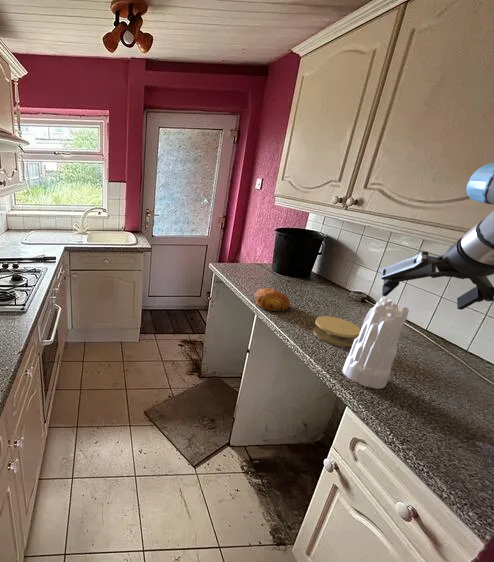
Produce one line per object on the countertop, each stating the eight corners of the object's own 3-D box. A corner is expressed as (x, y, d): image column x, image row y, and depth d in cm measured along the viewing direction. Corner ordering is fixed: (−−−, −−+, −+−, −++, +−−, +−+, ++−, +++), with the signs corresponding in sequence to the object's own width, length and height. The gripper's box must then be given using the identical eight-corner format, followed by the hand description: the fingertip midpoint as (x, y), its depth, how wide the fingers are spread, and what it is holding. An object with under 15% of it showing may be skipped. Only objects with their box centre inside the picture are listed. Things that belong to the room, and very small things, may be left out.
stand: (347, 330, 121) (351, 319, 119) (363, 350, 109) (368, 337, 107) (307, 325, 124) (311, 313, 122) (319, 343, 112) (323, 331, 110)
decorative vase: (388, 393, 88) (422, 315, 79) (343, 379, 93) (370, 304, 84) (382, 373, 97) (412, 300, 87) (341, 361, 102) (366, 291, 93)
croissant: (252, 312, 138) (255, 297, 134) (253, 295, 150) (256, 280, 147) (288, 318, 133) (293, 302, 129) (286, 300, 145) (290, 285, 141)
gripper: (396, 254, 58) (354, 299, 76) (599, 281, 48) (495, 325, 66) (398, 222, 60) (357, 273, 78) (591, 241, 50) (493, 294, 68)
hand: (420, 297), depth 72 cm, fingers open, 13 cm apart
